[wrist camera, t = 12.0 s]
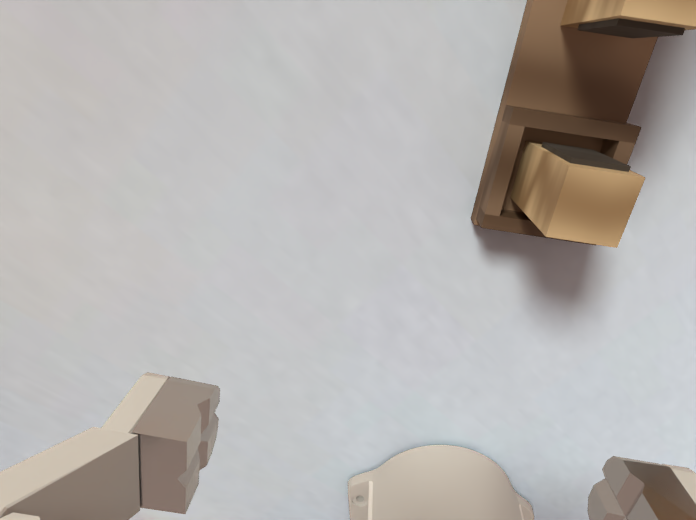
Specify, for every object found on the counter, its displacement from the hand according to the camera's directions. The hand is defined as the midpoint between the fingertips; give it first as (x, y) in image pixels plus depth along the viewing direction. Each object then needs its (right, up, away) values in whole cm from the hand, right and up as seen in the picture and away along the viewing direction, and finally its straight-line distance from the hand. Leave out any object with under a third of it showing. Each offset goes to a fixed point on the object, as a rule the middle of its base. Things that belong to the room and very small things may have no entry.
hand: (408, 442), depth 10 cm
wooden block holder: (+13, +15, +22) cm, 30 cm away
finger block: (+13, +10, +23) cm, 28 cm away
